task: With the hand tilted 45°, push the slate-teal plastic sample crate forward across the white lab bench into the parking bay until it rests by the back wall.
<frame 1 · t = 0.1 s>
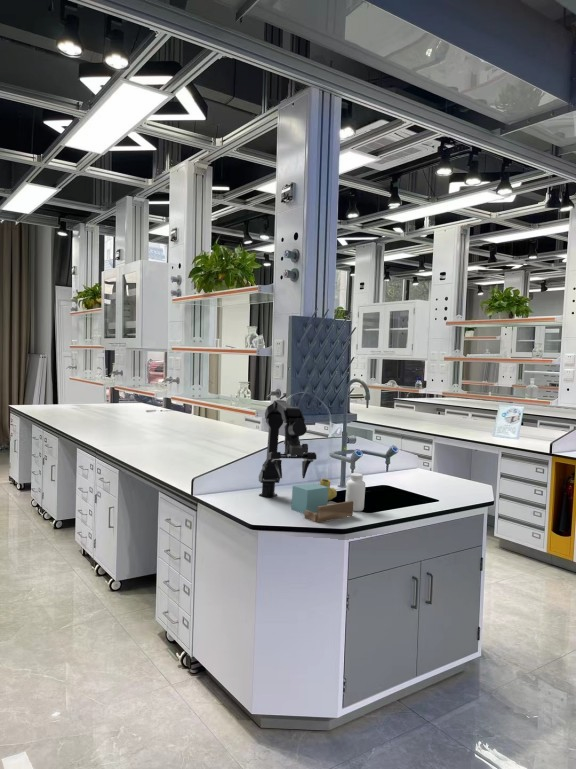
hand: (292, 478, 223), 15 cm above the countertop, tool pointing down, fingers open, 9 cm apart
pill bottle: (354, 509, 242), on the countertop
crate: (309, 510, 236), on the countertop
ball valve: (319, 500, 255), on the countertop
bay: (323, 514, 230), on the countertop
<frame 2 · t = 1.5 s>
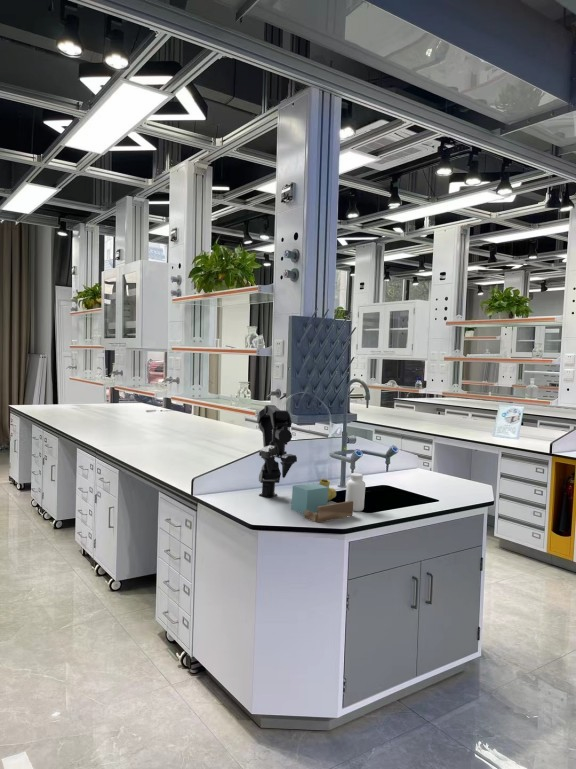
hand: (276, 475, 243), 12 cm above the countertop, tool pointing down, fingers open, 9 cm apart
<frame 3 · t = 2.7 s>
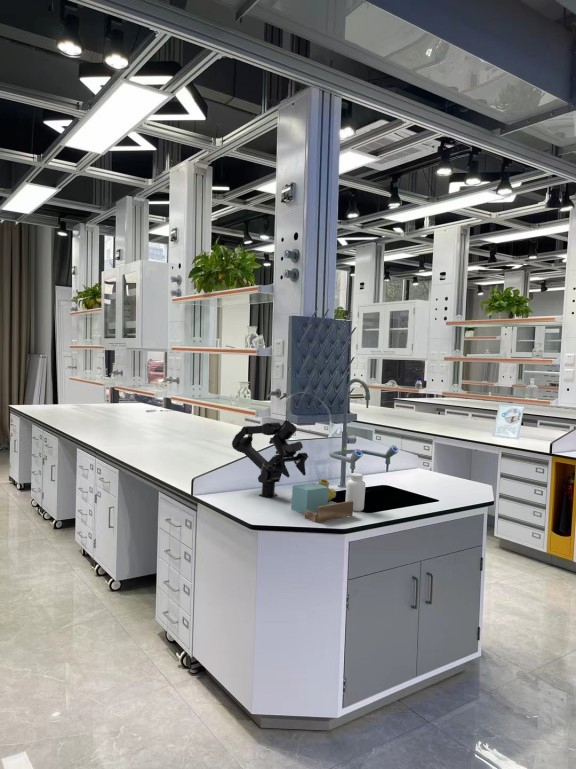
hand: (297, 476, 242), 13 cm above the countertop, tool tilted 45°, fingers open, 9 cm apart
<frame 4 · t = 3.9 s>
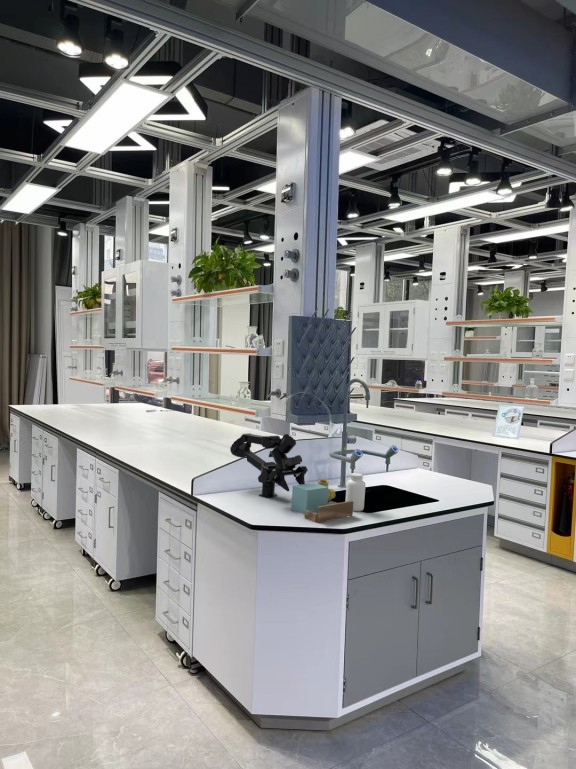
hand: (296, 489, 242), 7 cm above the countertop, tool tilted 45°, fingers open, 9 cm apart
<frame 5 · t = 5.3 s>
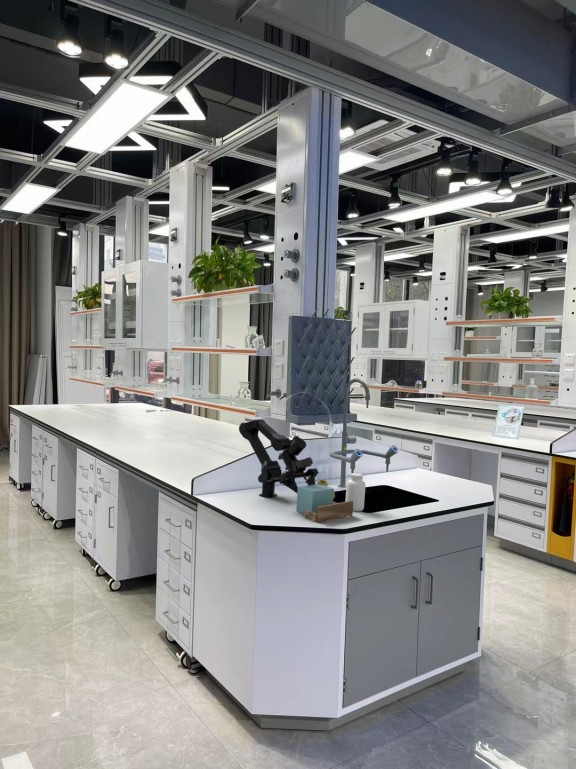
hand: (307, 492, 237), 7 cm above the countertop, tool tilted 45°
crate: (314, 511, 234), on the countertop, touching gripper
when the fingers open (7 cm above the countertop, at t = 6.2 s): crate stays where it is, resting in bay.
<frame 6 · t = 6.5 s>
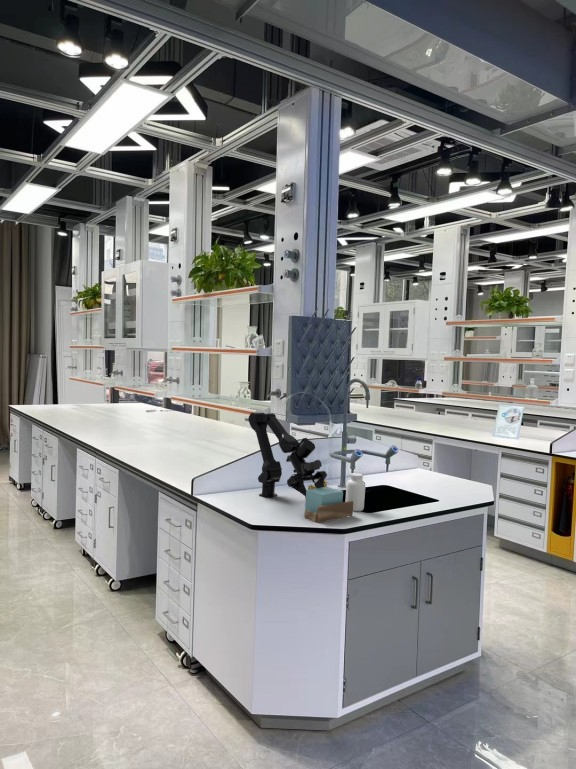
hand: (316, 495, 233), 7 cm above the countertop, tool tilted 45°, fingers open, 9 cm apart
crate: (323, 515, 230), resting in bay
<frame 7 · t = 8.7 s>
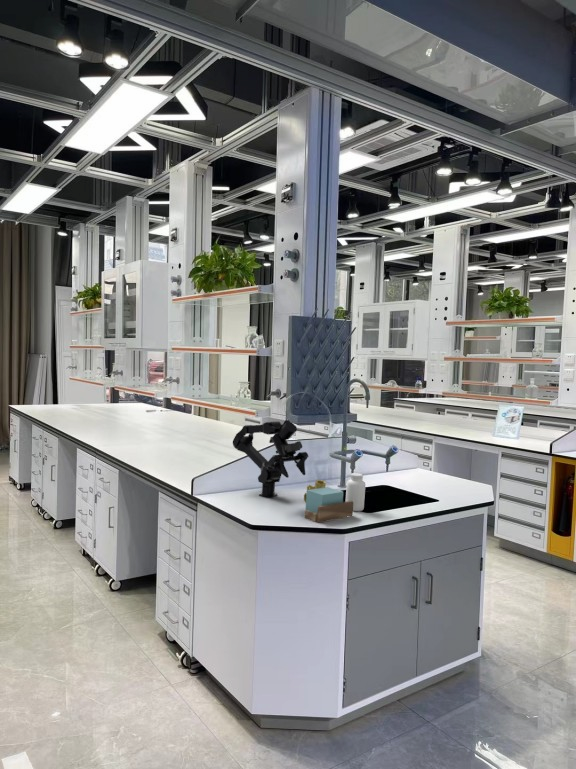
hand: (296, 476, 242), 13 cm above the countertop, tool tilted 45°, fingers open, 9 cm apart
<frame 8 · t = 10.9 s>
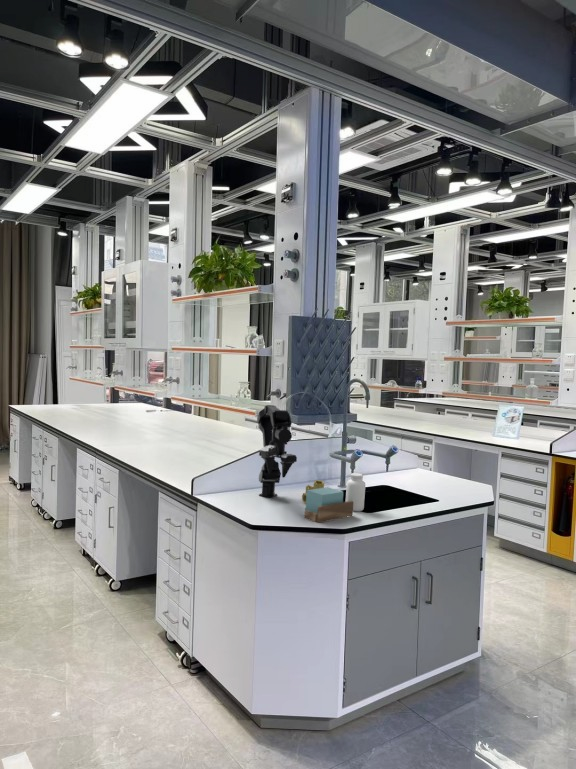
hand: (276, 475, 243), 12 cm above the countertop, tool pointing down, fingers open, 9 cm apart
at the end: crate 0.2 cm off-centre on the bay, point 0.0 cm above the bay's base; crate tilted 0°; crate moved 8.7 cm from its start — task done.
